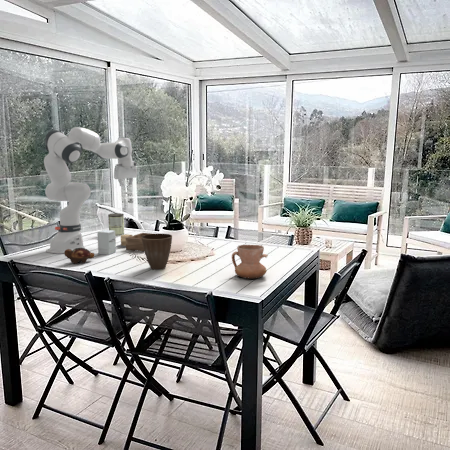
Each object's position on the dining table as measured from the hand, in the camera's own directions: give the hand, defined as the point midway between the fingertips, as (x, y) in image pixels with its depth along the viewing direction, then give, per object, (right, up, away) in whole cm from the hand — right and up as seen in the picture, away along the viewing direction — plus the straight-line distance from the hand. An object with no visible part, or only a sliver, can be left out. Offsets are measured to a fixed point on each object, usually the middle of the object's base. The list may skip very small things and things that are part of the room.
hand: (126, 185), depth 286 cm
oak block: (+3, -37, -11) cm, 39 cm away
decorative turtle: (-13, -45, -51) cm, 69 cm away
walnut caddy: (+15, -38, -16) cm, 44 cm away
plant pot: (+29, -46, -61) cm, 82 cm away
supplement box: (-4, -41, -30) cm, 51 cm away
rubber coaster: (+3, -38, -11) cm, 39 cm away
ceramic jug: (+74, -49, -76) cm, 117 cm away
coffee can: (-12, -32, +25) cm, 42 cm away
